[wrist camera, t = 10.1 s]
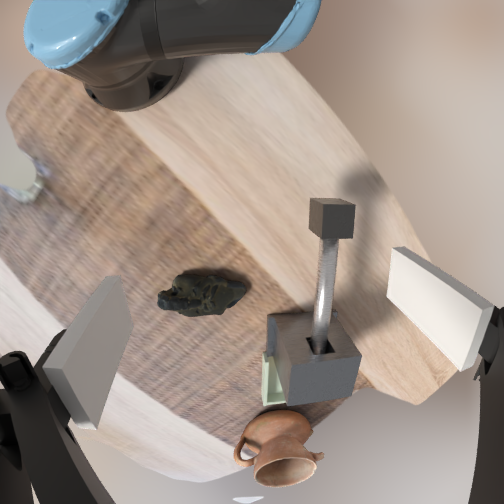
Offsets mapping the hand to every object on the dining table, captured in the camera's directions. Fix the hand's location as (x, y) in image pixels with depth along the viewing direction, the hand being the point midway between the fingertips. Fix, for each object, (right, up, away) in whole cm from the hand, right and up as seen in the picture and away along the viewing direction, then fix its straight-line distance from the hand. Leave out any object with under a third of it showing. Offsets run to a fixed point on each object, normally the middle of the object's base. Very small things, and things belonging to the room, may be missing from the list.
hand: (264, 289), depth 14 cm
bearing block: (+8, -12, +37) cm, 40 cm away
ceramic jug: (+4, -36, +45) cm, 57 cm away
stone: (-8, -4, +33) cm, 34 cm away
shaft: (+9, -4, +28) cm, 29 cm away
